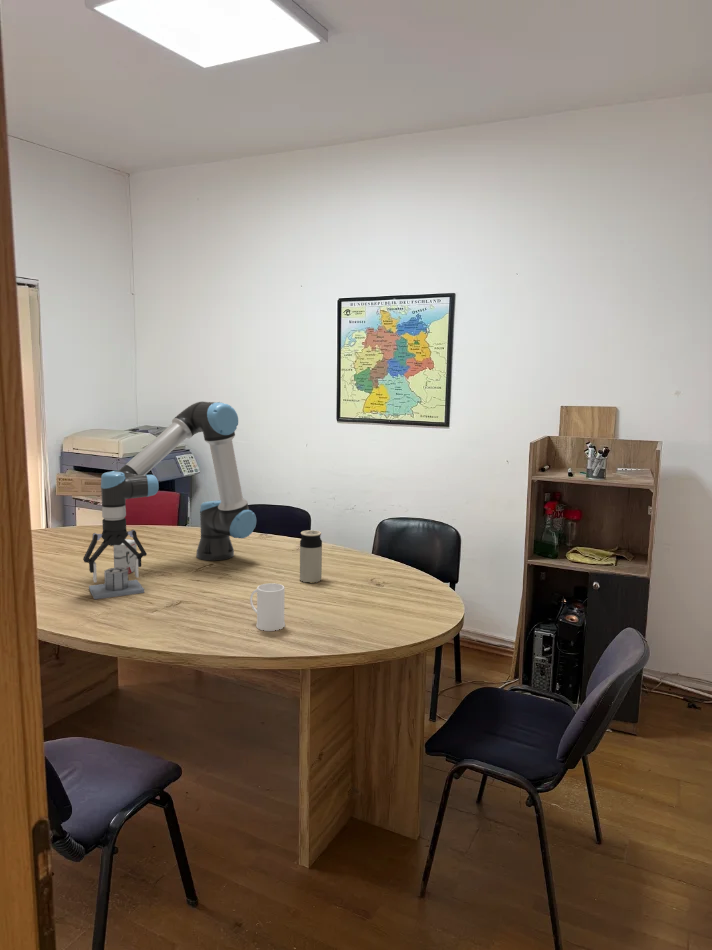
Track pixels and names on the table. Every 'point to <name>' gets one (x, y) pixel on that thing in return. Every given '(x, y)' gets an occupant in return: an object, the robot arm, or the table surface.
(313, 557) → the travel mug
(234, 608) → the table surface
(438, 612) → the table surface
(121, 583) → the cylinder
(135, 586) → the shaft stand
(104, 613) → the table surface
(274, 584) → the mug
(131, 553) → the ink box
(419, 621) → the table surface
